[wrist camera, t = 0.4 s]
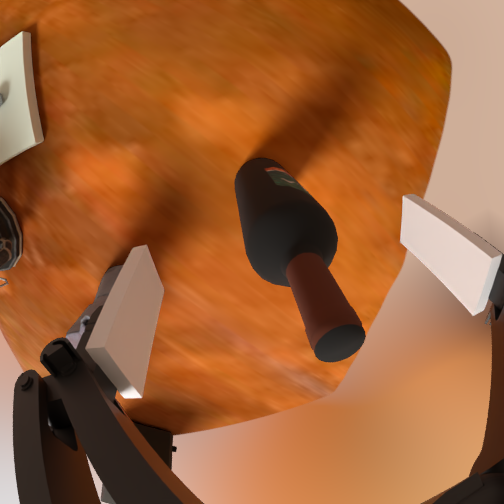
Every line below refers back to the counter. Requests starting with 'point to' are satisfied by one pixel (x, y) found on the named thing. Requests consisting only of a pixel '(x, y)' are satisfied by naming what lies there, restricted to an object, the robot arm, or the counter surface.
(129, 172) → the counter surface
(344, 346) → the wine bottle
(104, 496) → the black rectangular block
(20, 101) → the board
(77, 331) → the moka pot
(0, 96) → the steel ball
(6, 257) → the lantern
